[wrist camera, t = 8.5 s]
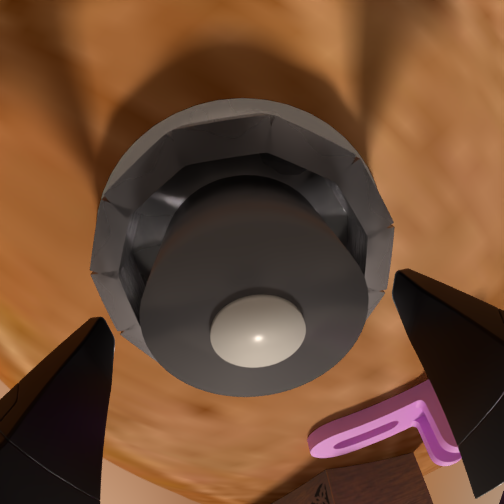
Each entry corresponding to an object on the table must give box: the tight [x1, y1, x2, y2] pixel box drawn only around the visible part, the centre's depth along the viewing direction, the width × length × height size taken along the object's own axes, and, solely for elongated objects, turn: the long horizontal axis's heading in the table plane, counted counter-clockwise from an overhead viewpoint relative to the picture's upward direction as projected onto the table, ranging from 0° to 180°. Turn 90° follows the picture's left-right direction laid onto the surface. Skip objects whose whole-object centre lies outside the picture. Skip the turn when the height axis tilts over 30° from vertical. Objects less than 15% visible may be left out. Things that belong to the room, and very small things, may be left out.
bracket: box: [307, 379, 462, 466], centre depth 17 cm, size 13×6×7 cm, turn 110°
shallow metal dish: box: [90, 98, 394, 362], centre depth 10 cm, size 11×11×2 cm
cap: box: [140, 175, 369, 397], centre depth 9 cm, size 6×6×4 cm
